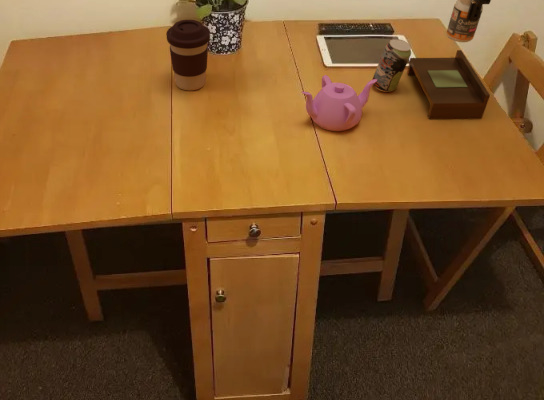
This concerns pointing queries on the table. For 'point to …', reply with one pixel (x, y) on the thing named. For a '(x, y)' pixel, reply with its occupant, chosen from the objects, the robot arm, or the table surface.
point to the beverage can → (392, 65)
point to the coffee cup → (189, 53)
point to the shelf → (450, 87)
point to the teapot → (337, 105)
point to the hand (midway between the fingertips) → (466, 12)
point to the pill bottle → (462, 22)
